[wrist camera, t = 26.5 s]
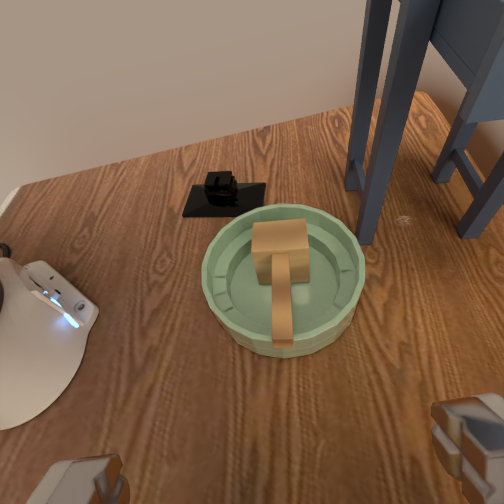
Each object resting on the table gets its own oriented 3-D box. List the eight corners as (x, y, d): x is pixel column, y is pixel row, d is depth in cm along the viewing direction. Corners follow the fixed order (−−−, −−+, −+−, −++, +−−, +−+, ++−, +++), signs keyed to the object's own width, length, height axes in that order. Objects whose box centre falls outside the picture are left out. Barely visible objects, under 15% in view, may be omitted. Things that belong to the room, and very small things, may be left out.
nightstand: (515, 312, 30) (1247, -227, 7) (371, 315, 32) (538, -84, 9) (443, 172, 43) (608, -185, 19) (343, 181, 45) (381, -131, 21)
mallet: (318, 363, 28) (319, 335, 24) (256, 364, 29) (246, 337, 25) (306, 252, 37) (305, 217, 33) (259, 256, 38) (252, 222, 34)
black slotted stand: (182, 218, 46) (171, 196, 42) (193, 185, 50) (184, 163, 46) (261, 216, 43) (256, 193, 39) (266, 182, 47) (262, 158, 43)
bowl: (187, 290, 38) (171, 267, 33) (281, 213, 43) (278, 184, 38) (285, 396, 29) (281, 384, 24) (388, 282, 34) (400, 255, 30)
